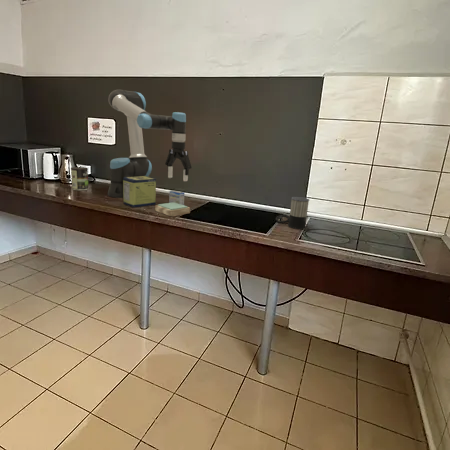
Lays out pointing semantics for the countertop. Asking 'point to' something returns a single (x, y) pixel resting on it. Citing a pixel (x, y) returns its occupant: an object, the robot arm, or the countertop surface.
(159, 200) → the countertop surface
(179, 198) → the medicine box
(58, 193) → the countertop surface
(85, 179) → the coffee can
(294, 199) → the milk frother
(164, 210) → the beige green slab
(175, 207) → the mat
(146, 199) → the protein box
